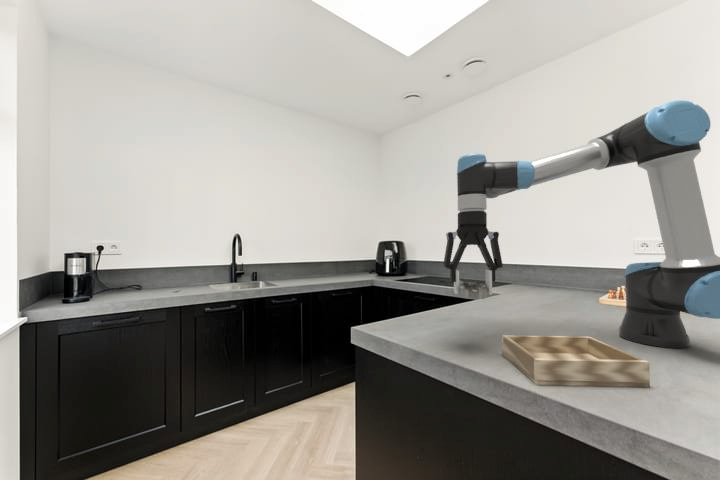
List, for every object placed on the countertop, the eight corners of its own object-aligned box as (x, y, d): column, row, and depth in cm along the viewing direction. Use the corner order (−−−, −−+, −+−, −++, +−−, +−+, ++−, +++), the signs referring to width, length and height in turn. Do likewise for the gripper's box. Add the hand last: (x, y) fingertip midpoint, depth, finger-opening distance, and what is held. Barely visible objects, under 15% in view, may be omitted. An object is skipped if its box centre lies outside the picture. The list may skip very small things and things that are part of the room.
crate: (589, 356, 78) (589, 336, 78) (649, 387, 61) (649, 362, 61) (501, 354, 79) (501, 335, 79) (536, 384, 62) (536, 360, 62)
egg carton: (487, 300, 77) (487, 283, 77) (457, 298, 80) (456, 282, 80) (485, 293, 87) (485, 279, 88) (458, 292, 90) (458, 278, 90)
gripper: (504, 212, 87) (505, 291, 87) (431, 213, 88) (431, 291, 88) (516, 209, 80) (517, 296, 79) (436, 210, 81) (437, 295, 80)
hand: (472, 293), depth 84 cm, fingers closed on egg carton, 8 cm apart
